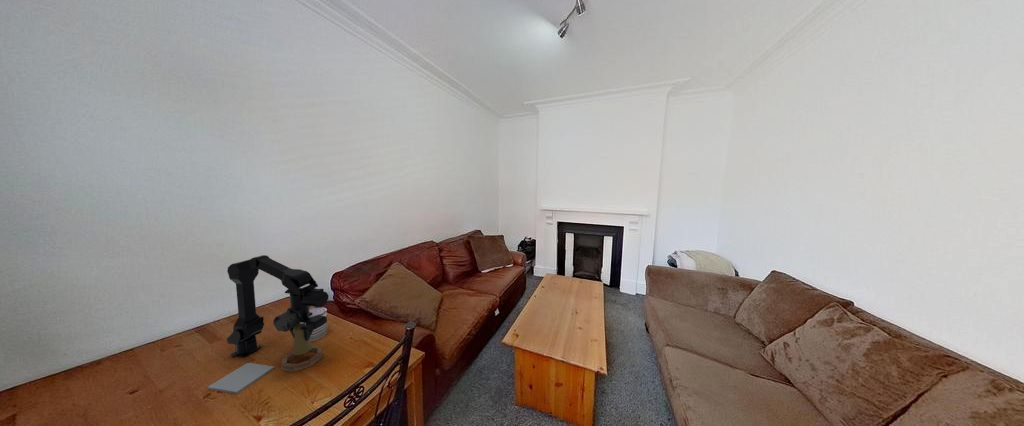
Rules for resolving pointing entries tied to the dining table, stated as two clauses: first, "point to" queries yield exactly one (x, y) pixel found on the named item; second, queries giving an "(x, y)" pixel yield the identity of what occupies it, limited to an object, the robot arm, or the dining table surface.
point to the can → (322, 329)
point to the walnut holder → (302, 365)
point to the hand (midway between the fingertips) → (301, 339)
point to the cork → (300, 341)
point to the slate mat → (241, 378)
